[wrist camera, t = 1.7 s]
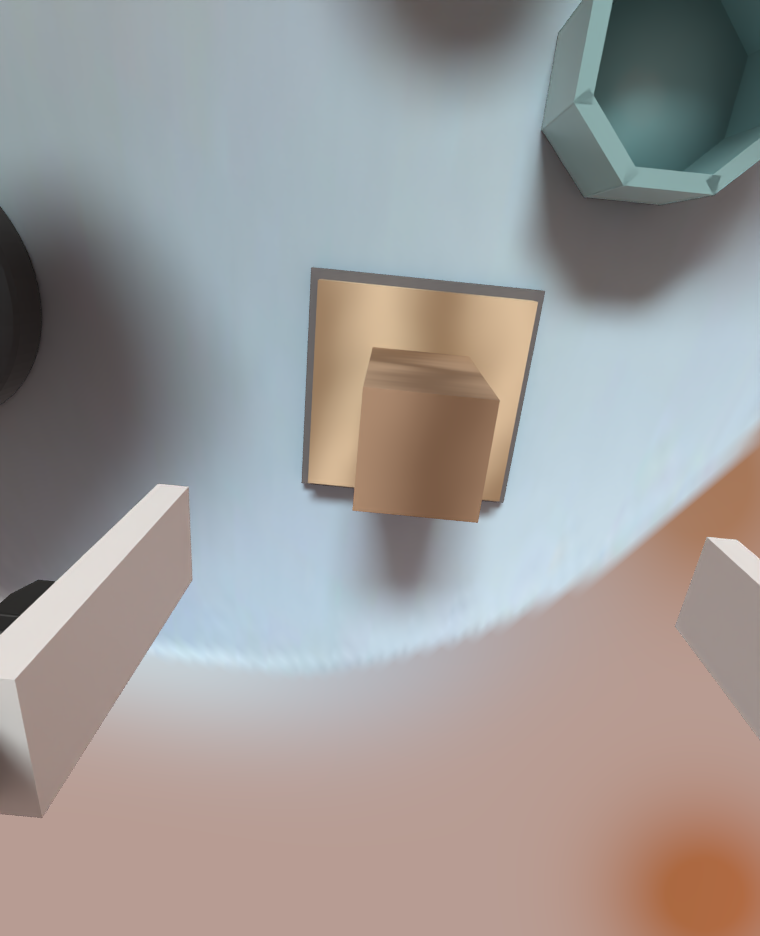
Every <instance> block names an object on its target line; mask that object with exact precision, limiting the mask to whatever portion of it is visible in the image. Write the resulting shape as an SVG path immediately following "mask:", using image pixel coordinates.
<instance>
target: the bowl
mask: <svg viewBox="0 0 760 936" xmlns="http://www.w3.org/2000/svg"><path fill="white" fill-rule="evenodd" d="M542 131H543V133H544V134H545V136H546V137H547V139H548V141H549V142H550V144H551V145H552V147H553V149H554V150H555V152H556V153H557V155H558V157H559V158H560V160H561V161H562V163H563V165H564V166H565V168H566V169H567V171H568V173H569V174H570V176H571V177H572V179H573V181H574V182H575V184H576V185H577V187H578V189H579V190H580V192H581V193H582V195H583V197H584V198H585V197H587V198H597V199H607V200H616V201H626V202H636V203H645V204H655V205H663V204H669V203H674V202H680V201H686V200H691V199H697V198H702V197H708V196H713V195H716V193H718V192H719V191H720V190H721V189H723V188H724V187H725V186H727V185H728V184H729V183H731V182H732V181H733V180H734V179H736V178H737V177H738V176H740V175H741V174H742V173H744V172H745V171H746V170H747V169H749V168H750V167H751V166H753V165H754V164H755V163H757V162H758V161H759V160H760V0H582V2H581V3H580V4H579V6H578V7H577V8H576V10H575V11H574V12H573V14H572V15H571V16H570V18H569V19H568V20H567V22H566V23H565V25H564V26H563V27H562V29H561V30H560V31H559V33H558V39H557V45H556V51H555V56H554V62H553V68H552V73H551V79H550V85H549V90H548V96H547V102H546V107H545V113H544V119H543V124H542Z"/></svg>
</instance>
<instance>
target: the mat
mask: <svg viewBox="0 0 760 936" xmlns="http://www.w3.org/2000/svg"><path fill="white" fill-rule="evenodd" d="M319 279H326V280H336V281H345V282H355V283H365V284H375V285H385V286H395V287H405V288H415V289H424V290H434V291H444V292H454V293H464V294H474V295H484V296H494V297H503V298H513V299H523V300H533V301H536V302H538V306H537V311H536V316H535V321H534V326H533V331H532V336H531V342H530V347H529V352H528V357H527V362H526V367H525V372H524V377H523V383H522V388H521V393H520V398H519V403H518V408H517V413H516V419H515V424H514V429H513V434H512V439H511V444H510V449H509V454H508V460H507V465H506V470H505V475H504V480H503V485H502V490H501V496H500V501H491V502H501V503H503V501H504V496H505V491H506V486H507V481H508V476H509V471H510V466H511V461H512V456H513V451H514V446H515V441H516V436H517V431H518V426H519V421H520V415H521V410H522V405H523V400H524V395H525V390H526V385H527V380H528V375H529V370H530V365H531V360H532V355H533V350H534V345H535V340H536V335H537V330H538V325H539V320H540V314H541V309H542V304H543V299H544V294H545V291H541V290H531V289H521V288H512V287H502V286H492V285H482V284H472V283H462V282H452V281H443V280H433V279H423V278H413V277H403V276H393V275H383V274H374V273H364V272H354V271H344V270H334V269H324V268H314V267H312V268H311V285H310V307H309V330H308V352H307V375H306V397H305V420H304V442H303V465H302V483H307V484H315V483H308V471H309V451H310V431H311V410H312V390H313V370H314V349H315V329H316V309H317V288H318V280H319ZM317 485H326V484H317ZM327 486H336V485H327ZM337 487H346V486H337ZM348 488H354V487H348ZM482 501H489V500H482Z"/></svg>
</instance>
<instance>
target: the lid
mask: <svg viewBox="0 0 760 936" xmlns="http://www.w3.org/2000/svg"><path fill="white" fill-rule="evenodd" d="M537 306H538V302H536V301H533V300H523V299H513V298H503V297H494V296H484V295H474V294H464V293H454V292H444V291H434V290H424V289H415V288H405V287H395V286H385V285H375V284H365V283H355V282H345V281H336V280H326V279H319V280H318V288H317V309H316V329H315V349H314V370H313V390H312V410H311V431H310V451H309V471H308V483H315V484H326V485H336V486H346V487H354V499H353V511H363V512H373V513H384V514H394V515H404V516H414V517H425V518H435V519H445V520H456V521H466V522H476V523H478V519H479V513H480V508H481V502H482V500H489V501H500V496H501V490H502V485H503V480H504V475H505V470H506V465H507V460H508V454H509V449H510V444H511V439H512V434H513V429H514V424H515V419H516V413H517V408H518V403H519V398H520V393H521V388H522V383H523V377H524V372H525V367H526V362H527V357H528V352H529V347H530V342H531V336H532V331H533V326H534V321H535V316H536V311H537Z"/></svg>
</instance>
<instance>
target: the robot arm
mask: <svg viewBox="0 0 760 936" xmlns="http://www.w3.org/2000/svg"><path fill="white" fill-rule="evenodd" d="M40 334H41V304H40V296H39V290H38V286H37V281H36V277H35V274H34V271H33V267H32V265H31V262H30V259H29V257H28V254H27V252H26V250H25V247H24V245H23V243H22V241H21V239H20V237H19V235H18V233H17V231H16V230H15V228H14V226H13V225H12V223H11V221H10V220H9V218H8V217H7V215H6V214H5V213H4V211H3V210H2V208H1V207H0V405H1V404H2V403H3V402H5V401H6V400H7V399H8V398H10V397H11V396H12V395H13V394H14V393H15V392H16V391H17V389H18V388H19V387H20V386H21V384H22V383H23V382H24V380H25V379H26V377H27V375H28V373H29V371H30V370H31V368H32V365H33V363H34V360H35V357H36V354H37V351H38V346H39V342H40ZM191 581H192V560H191V536H190V512H189V488H188V487H186V486H175V485H165V484H157V485H156V486H155V487H154V488H153V489H152V490H151V491H150V492H149V493H148V494H147V495H146V496H145V497H144V498H143V499H142V500H141V501H140V502H139V503H137V504H136V505H135V506H134V507H133V508H132V509H131V510H130V511H129V512H128V513H127V514H126V515H125V516H124V517H123V518H122V519H121V520H120V521H119V522H118V523H117V524H116V525H114V526H113V527H112V528H111V529H110V530H109V531H108V532H107V533H106V534H105V535H104V536H103V537H102V538H101V539H100V540H99V541H98V542H97V543H96V544H95V545H94V546H93V547H91V548H90V549H89V550H88V551H87V552H86V553H85V554H84V555H83V556H82V557H81V558H80V559H79V560H78V561H77V562H76V563H75V564H74V565H73V566H72V567H71V568H70V569H69V570H67V571H66V572H65V573H64V574H63V575H62V576H61V577H60V578H59V579H58V580H57V581H56V582H55V581H44V580H37V581H35V582H33V583H31V584H29V585H27V586H25V587H23V588H22V589H20V590H18V591H16V592H14V593H12V594H10V595H9V596H8V597H7V598H6V599H4V600H3V601H2V602H1V603H0V814H5V815H16V816H27V817H37V818H42V817H43V816H44V814H45V812H46V811H47V810H48V808H49V806H50V805H51V803H52V802H53V800H54V798H55V797H56V795H57V794H58V792H59V791H60V789H61V787H62V786H63V784H64V783H65V781H66V779H67V778H68V776H69V775H70V773H71V771H72V770H73V768H74V767H75V765H76V764H77V762H78V760H79V759H80V757H81V756H82V754H83V752H84V751H85V749H86V748H87V746H88V745H89V743H90V741H91V740H92V738H93V737H94V735H95V734H96V732H97V730H98V729H99V727H100V726H101V724H102V722H103V721H104V719H105V718H106V716H107V714H108V713H109V711H110V710H111V708H112V707H113V705H114V703H115V702H116V700H117V699H118V697H119V695H120V694H121V692H122V691H123V689H124V688H125V686H126V684H127V682H128V681H129V680H130V678H131V676H132V675H133V673H134V671H135V670H136V668H137V667H138V665H139V664H140V662H141V661H142V659H143V657H144V656H145V654H146V653H147V651H148V650H149V648H150V646H151V645H152V643H153V642H154V640H155V638H156V637H157V635H158V634H159V632H160V630H161V629H162V627H163V626H164V624H165V623H166V621H167V619H168V618H169V616H170V615H171V613H172V611H173V610H174V608H175V607H176V605H177V604H178V602H179V600H180V599H181V597H182V596H183V594H184V592H185V591H186V589H187V588H188V586H189V585H190V583H191ZM675 627H676V628H677V630H678V631H679V632H680V634H681V635H682V636H683V638H684V639H685V640H686V642H687V643H688V644H689V646H690V647H691V648H692V650H693V651H694V652H695V654H696V655H697V657H698V658H699V659H700V660H701V662H702V663H703V664H704V666H705V667H706V669H707V670H708V671H709V673H710V674H711V675H712V677H713V678H714V679H715V681H716V682H717V683H718V685H719V686H720V687H721V689H722V690H723V691H724V693H725V694H726V695H727V697H728V698H729V699H730V701H731V702H732V703H733V705H734V706H735V707H736V709H737V710H738V711H739V713H740V714H741V716H742V717H743V718H744V720H745V721H746V722H747V724H748V725H749V726H750V728H751V729H752V730H753V732H754V733H755V734H756V736H757V737H758V738H759V740H760V559H759V558H758V557H757V556H755V555H754V554H753V553H752V552H751V551H750V550H748V549H747V548H746V547H745V546H744V545H742V544H741V543H740V542H739V541H738V540H732V539H722V538H712V537H707V538H706V541H705V544H704V547H703V550H702V552H701V555H700V558H699V561H698V564H697V566H696V569H695V572H694V575H693V578H692V580H691V583H690V586H689V589H688V592H687V594H686V597H685V600H684V603H683V605H682V608H681V611H680V614H679V617H678V620H677V622H676V625H675Z"/></svg>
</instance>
